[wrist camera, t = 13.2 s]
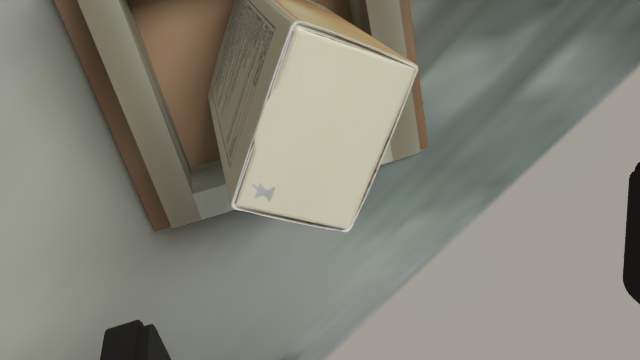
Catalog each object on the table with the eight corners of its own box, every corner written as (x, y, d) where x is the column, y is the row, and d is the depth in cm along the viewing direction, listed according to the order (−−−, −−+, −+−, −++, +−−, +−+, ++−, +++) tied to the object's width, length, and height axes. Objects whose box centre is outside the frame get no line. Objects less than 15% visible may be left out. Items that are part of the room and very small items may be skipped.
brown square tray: (377, -173, 26) (410, -183, 22) (421, 140, 33) (450, 169, 30) (22, -86, 24) (-3, -82, 21) (155, 222, 32) (153, 262, 28)
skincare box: (285, 119, 30) (349, 245, 19) (203, 96, 28) (224, 218, 18) (329, -1, 28) (428, 66, 17) (243, -33, 26) (293, 18, 15)
